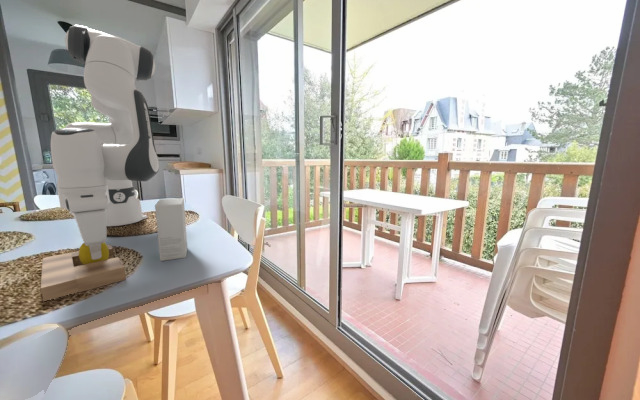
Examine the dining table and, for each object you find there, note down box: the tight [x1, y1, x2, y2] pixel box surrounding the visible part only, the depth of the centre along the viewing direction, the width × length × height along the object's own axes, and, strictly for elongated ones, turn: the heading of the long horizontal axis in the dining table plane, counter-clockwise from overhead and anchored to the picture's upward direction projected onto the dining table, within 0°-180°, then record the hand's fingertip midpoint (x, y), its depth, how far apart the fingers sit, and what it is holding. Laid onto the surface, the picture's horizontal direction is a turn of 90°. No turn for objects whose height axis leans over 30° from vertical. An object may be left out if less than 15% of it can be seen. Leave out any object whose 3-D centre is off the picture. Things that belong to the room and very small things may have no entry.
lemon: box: [78, 242, 109, 265], centre depth 63 cm, size 6×6×8 cm
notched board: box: [40, 244, 127, 302], centre depth 61 cm, size 20×13×3 cm, turn 46°
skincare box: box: [154, 197, 188, 262], centre depth 72 cm, size 8×7×16 cm
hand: (94, 252), depth 64 cm, fingers open, 8 cm apart
